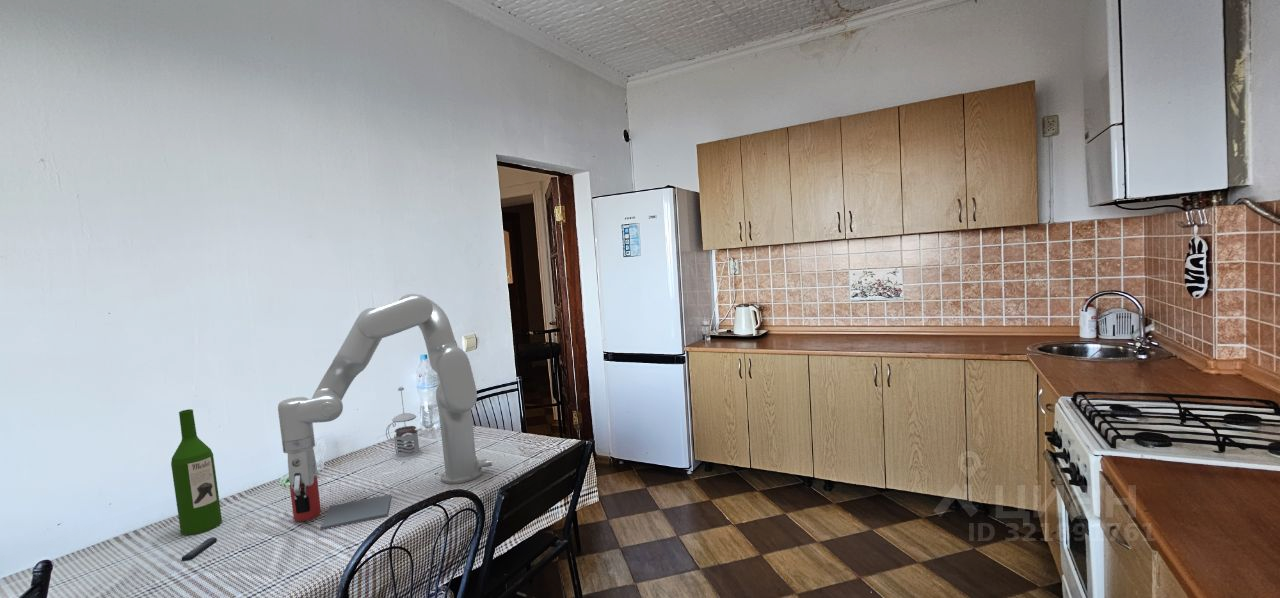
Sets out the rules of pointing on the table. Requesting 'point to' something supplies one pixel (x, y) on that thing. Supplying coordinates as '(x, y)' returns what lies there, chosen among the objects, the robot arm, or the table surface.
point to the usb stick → (199, 549)
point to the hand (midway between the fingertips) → (306, 506)
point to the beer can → (313, 500)
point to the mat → (357, 511)
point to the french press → (405, 437)
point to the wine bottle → (195, 481)
